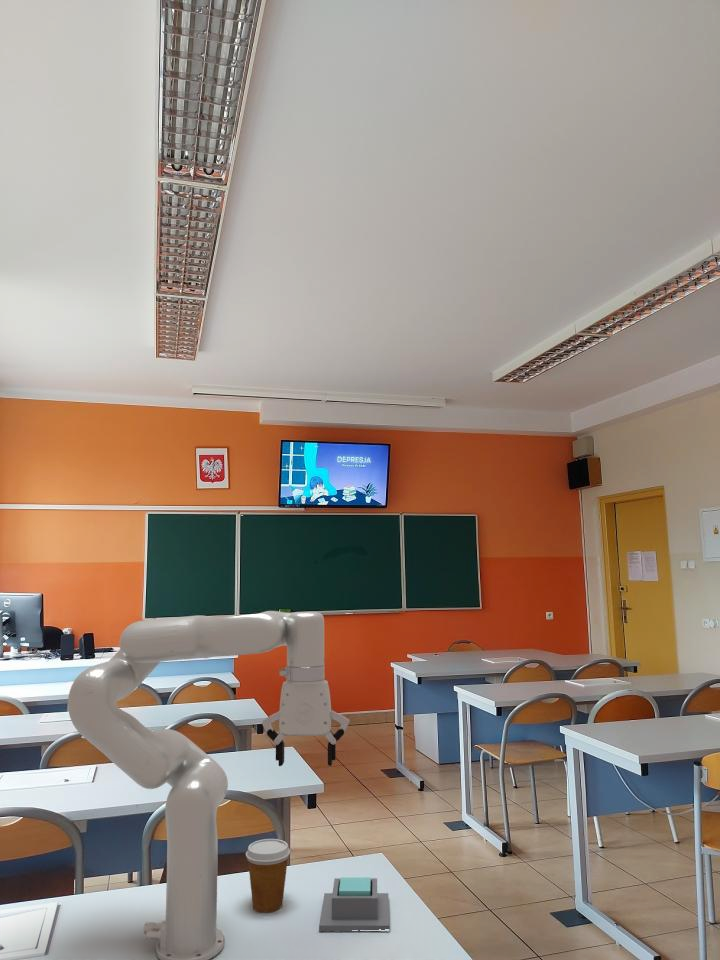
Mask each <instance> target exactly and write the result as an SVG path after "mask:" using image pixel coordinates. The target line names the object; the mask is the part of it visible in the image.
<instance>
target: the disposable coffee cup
mask: <svg viewBox="0 0 720 960" xmlns="http://www.w3.org/2000/svg"><path fill="white" fill-rule="evenodd" d="M290 854H291V850H290V848H289V844H288V843H287V842H286V841H284V840H283V839H282V840H281V839H278V838H264V839H259V840H256V841H254V842H252V843H250V844H249V845H248V848H247V851H246V852H245V857H246V860H247V861H248V873H249V880H250V881H249V882H250V891H251V892H250V893H251V903H252V908H253V910H254V911H257V912H259V913H267V914H268V913H273V912H276V911H278V910H280V909H281V908H282V907H283V903H284V896H285V895H284V893H285V887H286V886H285V885H286V877H287V876H286V875H287V869H288V868H287V867H288V860H289V856H290Z"/></svg>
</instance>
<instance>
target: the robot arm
mask: <svg viewBox="0 0 720 960" xmlns="http://www.w3.org/2000/svg"><path fill="white" fill-rule="evenodd" d="M283 646H284V647H285V646H286V667H284V668H280V669H279V677H280V676H281V677H285V678H286V681H283V682H282V686H281V691H280V701H279V710H278V711H277V712H275V713H273V714H271V715H270V716H268V717H266V718H264V719H263V720H262V721H261V724H262V726H263V728H264V731H265V732H266V735H267V736H268V737H269V738H270V740H271V741H272V742H273V744H274V745H275V762H276V761H278V767H282V766H283V765H284V763H285V742H284V738H285V737H286V736H287V737H304V736H305V737H311V736H313V737H318V736H320V737H321V736H324V737H325V738H326V739H327V741H328V743H327V766H328V767H331V766H332V765H333V761H336V759H337V757H336V755H337V754H336V749H337V748H336V747H337V745H336V743H337V742H338V741H339V740H340V739H342V737H343V736H344V734H345V732H346V730H347V728H348V727H349V724H350V718H347V717H346V716H344V715H342V714H340V713H338V712H336V711H334V710H333V709H332V704H331V703H332V702H331V693H330V686H329V683H328V680H325V678H326V677H325V676H326V675H325V618H324V615H323V614H322V613H321V612H317V611H295V612H285V611H284V612H283V611H278V610H266V611H263V612H260V613H259V612H258V613H250V614H243V615H232V616H218V617H217V616H215V617H214V616H213V617H212V616H207V615H202V614H201V615H188V616H179V617H171V618H170V617H167V618H158V619H157V618H150V619H145V620H138V621H134V622H133V623H130V624H129V625H127V626H126V627H125V628H124V630H123V631H122V633H121V634H120V638H119V650H118V651H117V652H116V653H115V654H114V655H113V656H112V657H111V658H110V659H109V660H108V661H105V662H101V663H97V664H95V665H92V666H89V667H88V668H86V669H85V670H84V671H81V672H80V673H79V674H78V676H77V677H76V678H75V679H74V681H73V683H72V684H71V686H70V689H69V693H68V697H67V699H68V700H67V709H68V714H69V718H70V720H71V723H72V725H73V726H74V728H75V729H76V731H77V732H78V733H79V734H80V735H81V736H82V737H83V738H84V739H85V740H86V741H88V742H89V743H90V744H91V745H92V746H94V747H95V748H96V749H97V750H99V751H100V752H101V753H102V754H103V755H104V756H106V758H107V759H109V761H111V762H112V763H113V764H114V765H115V766H117V768H119V769H120V770H121V771H122V772H123V773H124V774H126V775H127V776H128V777H129V778H131V780H132V781H134V782H135V783H136V784H137V785H138V786H140V787H142V788H144V789H147V790H154V789H155V790H156V789H158V788H160V787H162V786H163V785H164V784H166V783H167V784H168V785H169V786H171V789H170V791H169V792H168V794H167V797H166V801H165V808H164V809H165V810H164V814H165V815H164V816H165V817H164V818H165V827H166V839H167V840H166V841H167V842H166V844H167V845H166V847H167V848H166V849H167V851H166V852H167V853H166V892H165V894H166V895H165V897H166V899H165V901H166V902H165V920H161V921H160V922H156V921H155V922H154V921H153V922H145V923H144V925H143V926H144V927H143V934H144V935H145V940H157V943H156V946H155V947H156V948H155V950H156V951H155V953H156V956H157V958H158V959H159V960H211V959H212V958H214V957H215V956H217V955H218V954H220V952H221V951H222V950H223V948H224V946H225V935H224V932H222V930H220V929H219V928H217V920H218V919H217V915H218V913H217V912H218V911H217V909H218V905H217V903H218V864H219V863H218V848H219V846H218V843H219V841H218V829H217V811H218V808H219V806H220V805H221V804H222V802H223V801H224V799H225V797H226V794H227V792H228V789H229V788H228V787H229V786H228V785H229V783H228V782H229V781H228V777H227V774H226V772H225V770H224V769H223V768H222V766H221V765H220V764H219V763H218V762H217V761H216V760H215V759H213V758H212V757H211V756H210V755H208V754H207V753H206V752H205V751H204V750H203V749H202V748H200V747H199V746H198V745H197V744H195V742H193V741H192V740H191V739H189V738H188V737H187V736H185V735H184V734H183V733H181V732H180V731H177V730H175V729H170V728H165V729H159V730H157V731H155V732H153V731H152V730H150V729H148V727H146V726H145V725H143V723H141V722H140V720H138V719H137V718H136V717H134V715H131V714H130V713H128V712H126V711H124V710H123V709H121V708H120V707H119V706H118V705H117V703H118V702H119V701H122V700H124V699H125V698H127V697H128V696H130V695H131V694H132V693H133V692H135V690H136V689H137V688H138V687H139V686H140V685H141V684H142V683H143V682H144V680H146V678H147V677H148V676H149V675H150V674H151V673H152V672H153V671H154V669H156V668H157V667H158V666H159V664H160V663H163V662H170V661H171V662H172V661H179V660H180V661H182V660H193V659H194V660H195V659H209V658H216V657H217V658H218V657H229V656H230V657H231V656H241V655H242V656H243V655H255V654H263V653H267V652H270V651H273V650H274V649H275V648H276V649H277V648H279V647H283ZM278 720H279V721H278ZM333 720H334V721H336V722H337V723H339V724H340V727H339V729H337V730H336V732H334V731H333V730H332V721H333ZM276 721H278V730H279V733H277V731H276V730H275V729H273V726H272V723H274V722H276Z"/></svg>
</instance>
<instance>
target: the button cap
mask: <svg viewBox="0 0 720 960" xmlns="http://www.w3.org/2000/svg"><path fill="white" fill-rule="evenodd" d="M340 878H341V879H340V887H339V896H371V877H340Z"/></svg>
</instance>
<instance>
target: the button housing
mask: <svg viewBox="0 0 720 960" xmlns="http://www.w3.org/2000/svg"><path fill="white" fill-rule="evenodd" d="M341 878H342V877H340V878H338V877H337V878H336V877H335V878H334V881H333V887H332V893H331V892H330V893H329V892H327V893H326V892H325V893H324V892H323V893H324V894H323V899H322V906H321V910H320V911H321V912H320V918H319V924H318V932H319V933H322V932H321V931H326V932H325V933H329V932H328V931H352V930H358V931H360V930H379V929H381V930H385V929H391V928H390V927H391V926H390V904H389V903H390V902H389V900H390V899H389V893H387V892H386V893H385V892H378V878H374V877H373V878H371V896H339V887H340V879H341Z"/></svg>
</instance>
